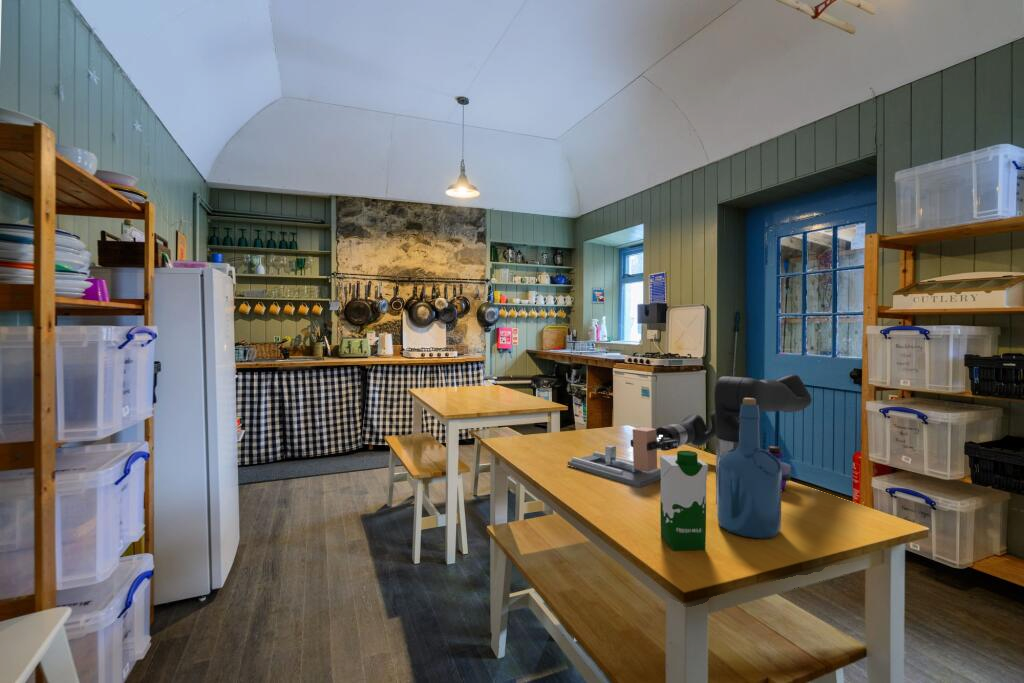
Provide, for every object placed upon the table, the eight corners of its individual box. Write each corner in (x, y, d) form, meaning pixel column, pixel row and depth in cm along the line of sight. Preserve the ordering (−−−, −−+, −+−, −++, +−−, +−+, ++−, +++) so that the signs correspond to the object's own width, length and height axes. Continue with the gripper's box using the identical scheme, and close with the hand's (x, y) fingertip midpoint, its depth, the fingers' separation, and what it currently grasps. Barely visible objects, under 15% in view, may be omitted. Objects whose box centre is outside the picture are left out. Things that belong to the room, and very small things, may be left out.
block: (643, 465, 149) (642, 427, 149) (657, 468, 145) (656, 429, 145) (633, 468, 146) (632, 429, 146) (647, 471, 142) (646, 431, 142)
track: (598, 457, 170) (598, 450, 170) (669, 476, 148) (669, 468, 148) (567, 466, 159) (567, 458, 159) (639, 487, 138) (639, 478, 138)
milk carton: (669, 552, 98) (670, 456, 98) (655, 533, 107) (655, 445, 107) (711, 551, 99) (712, 455, 98) (693, 532, 108) (694, 444, 107)
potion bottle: (798, 493, 133) (798, 450, 132) (766, 493, 133) (767, 450, 132) (781, 483, 141) (781, 443, 141) (751, 483, 141) (752, 443, 141)
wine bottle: (704, 523, 113) (705, 396, 112) (741, 512, 119) (743, 392, 118) (756, 546, 101) (758, 405, 100) (795, 533, 107) (797, 400, 106)
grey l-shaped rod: (612, 461, 158) (612, 444, 157) (641, 469, 149) (642, 451, 149) (604, 464, 155) (604, 446, 155) (634, 472, 146) (634, 453, 146)
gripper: (691, 452, 150) (660, 462, 139) (651, 444, 161) (619, 452, 150) (691, 428, 149) (660, 437, 138) (651, 421, 160) (620, 429, 149)
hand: (639, 445), depth 144 cm, fingers closed on block, 5 cm apart
